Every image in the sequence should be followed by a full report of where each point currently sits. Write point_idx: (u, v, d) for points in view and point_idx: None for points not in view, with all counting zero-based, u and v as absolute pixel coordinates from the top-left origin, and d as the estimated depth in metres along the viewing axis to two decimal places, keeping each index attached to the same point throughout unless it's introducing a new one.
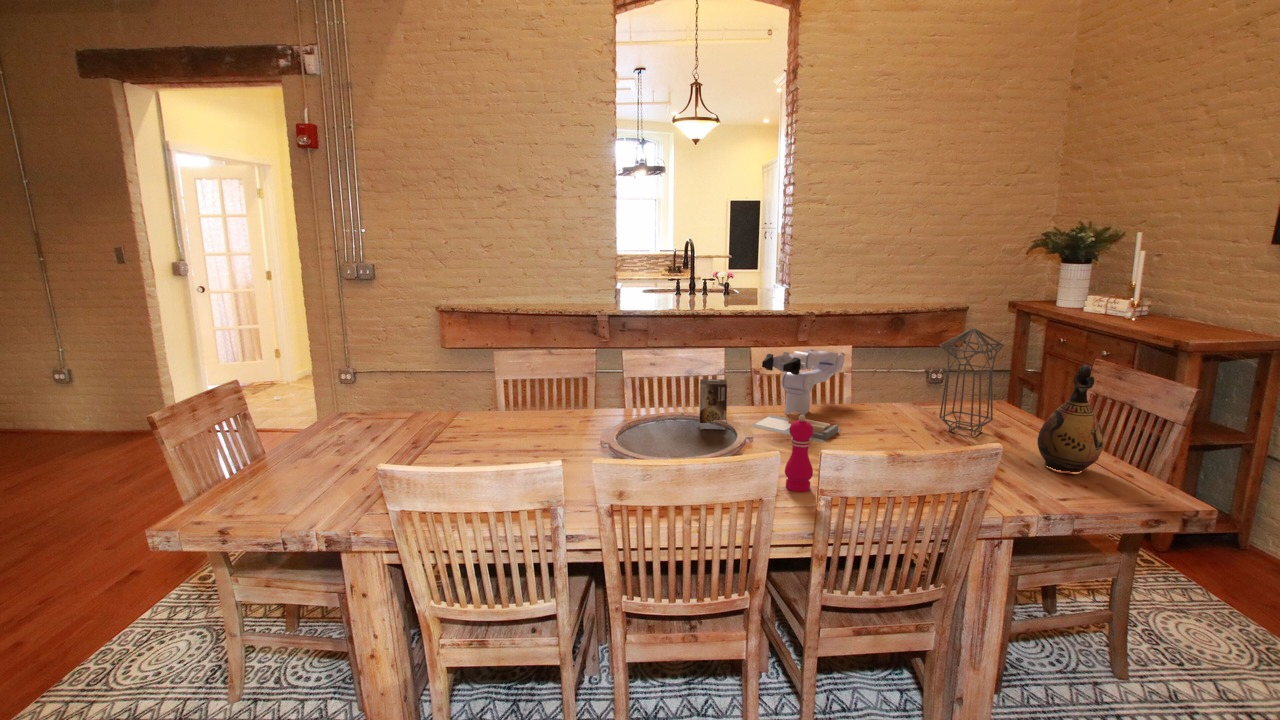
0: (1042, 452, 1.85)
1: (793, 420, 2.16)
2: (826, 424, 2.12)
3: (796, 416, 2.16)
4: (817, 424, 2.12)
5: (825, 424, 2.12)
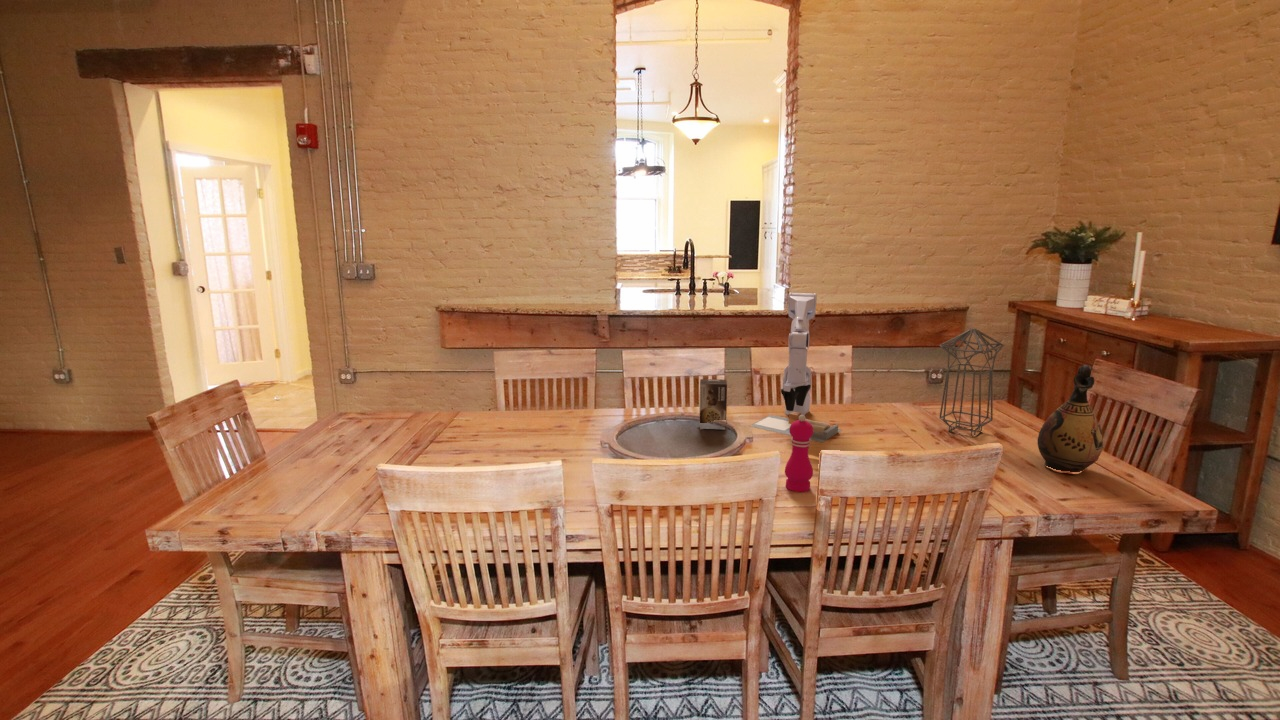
0: (1042, 452, 1.85)
1: (793, 420, 2.16)
2: (826, 424, 2.12)
3: (796, 416, 2.16)
4: (817, 424, 2.12)
5: (825, 424, 2.12)
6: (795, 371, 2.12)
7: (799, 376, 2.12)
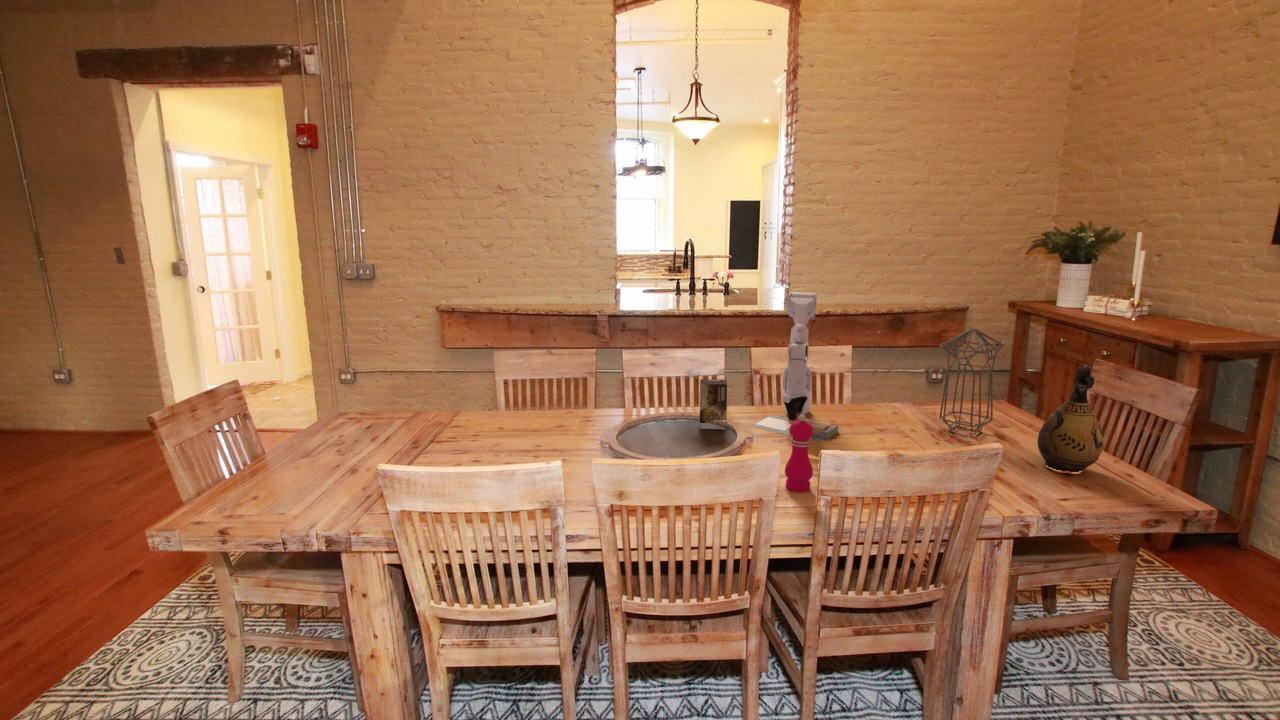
0: (1042, 452, 1.85)
1: None
2: (826, 424, 2.12)
3: (796, 416, 2.16)
4: (817, 424, 2.12)
5: (825, 424, 2.12)
6: (794, 382, 2.12)
7: (799, 387, 2.13)
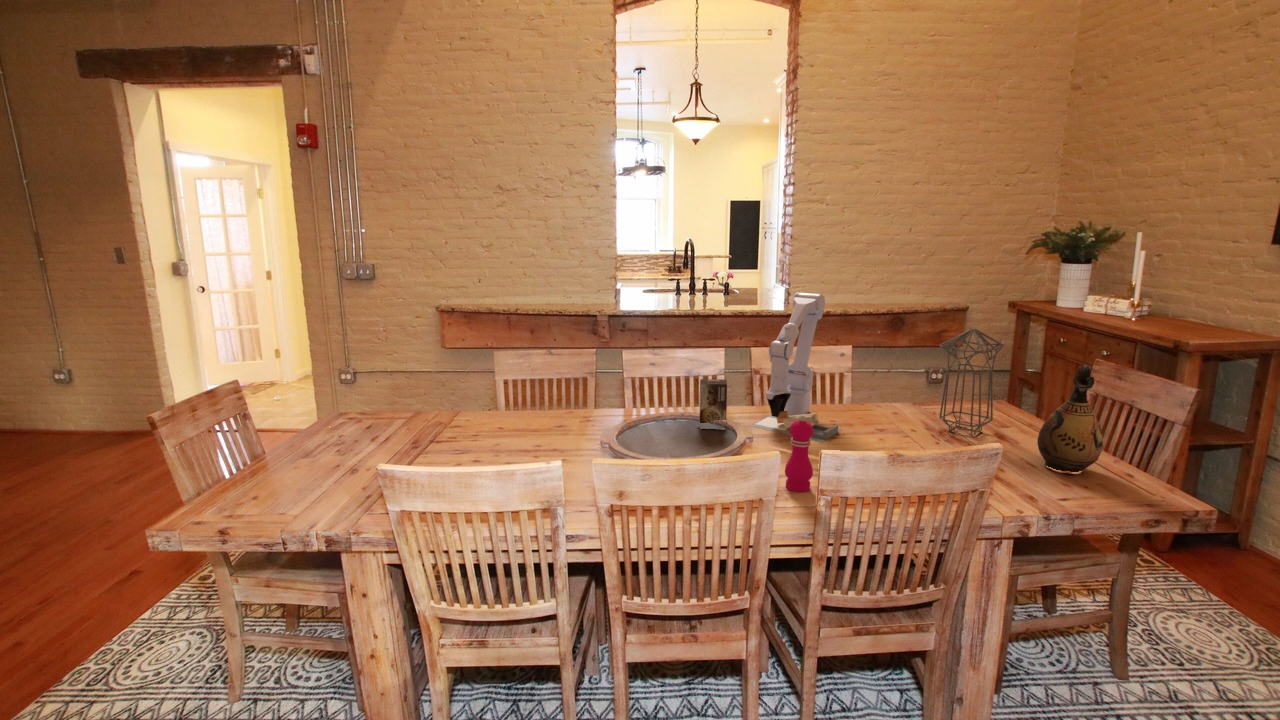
0: (1042, 452, 1.85)
1: (781, 419, 2.19)
2: (813, 414, 2.15)
3: (783, 414, 2.19)
4: None
5: (812, 414, 2.15)
6: (777, 379, 2.16)
7: (781, 384, 2.16)
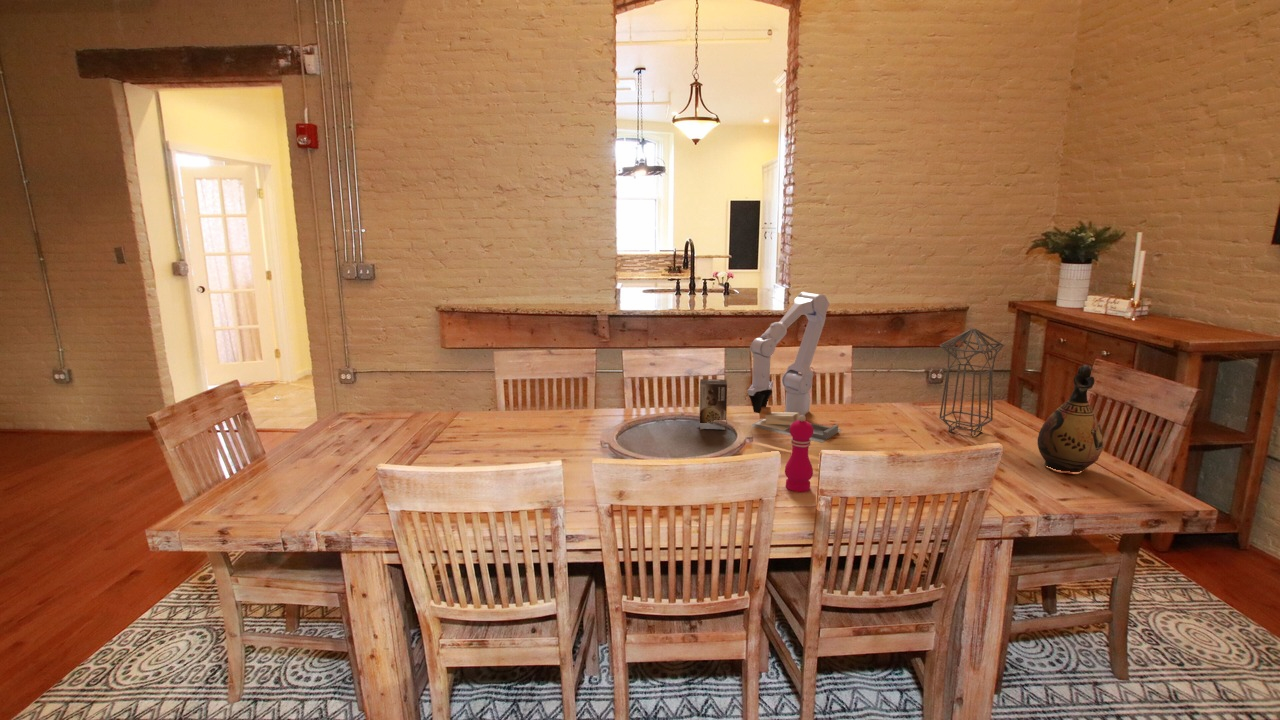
0: (1042, 452, 1.85)
1: (763, 414, 2.23)
2: (795, 413, 2.19)
3: (765, 410, 2.22)
4: (786, 414, 2.19)
5: (794, 413, 2.19)
6: (759, 376, 2.20)
7: (763, 381, 2.20)
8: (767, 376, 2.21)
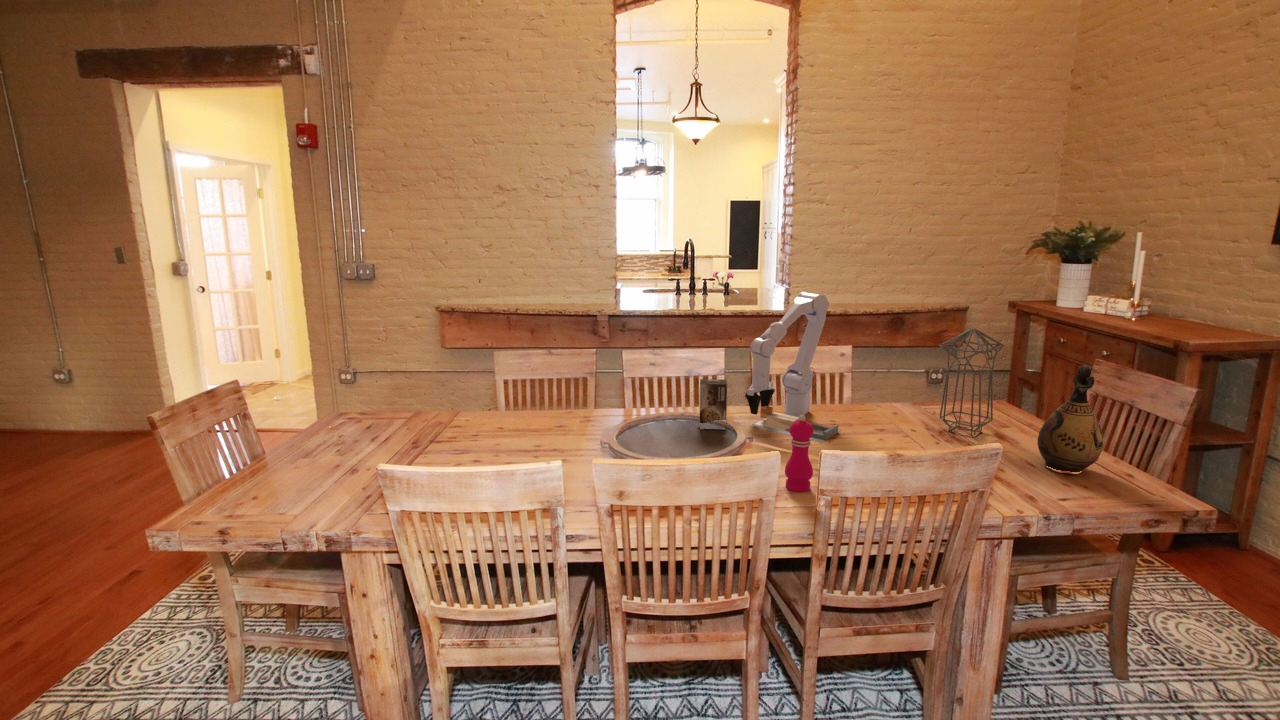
0: (1042, 452, 1.85)
1: (765, 414, 2.23)
2: (796, 418, 2.19)
3: (767, 410, 2.22)
4: (787, 418, 2.19)
5: (795, 418, 2.19)
6: (759, 376, 2.20)
7: (763, 381, 2.20)
8: (767, 376, 2.21)
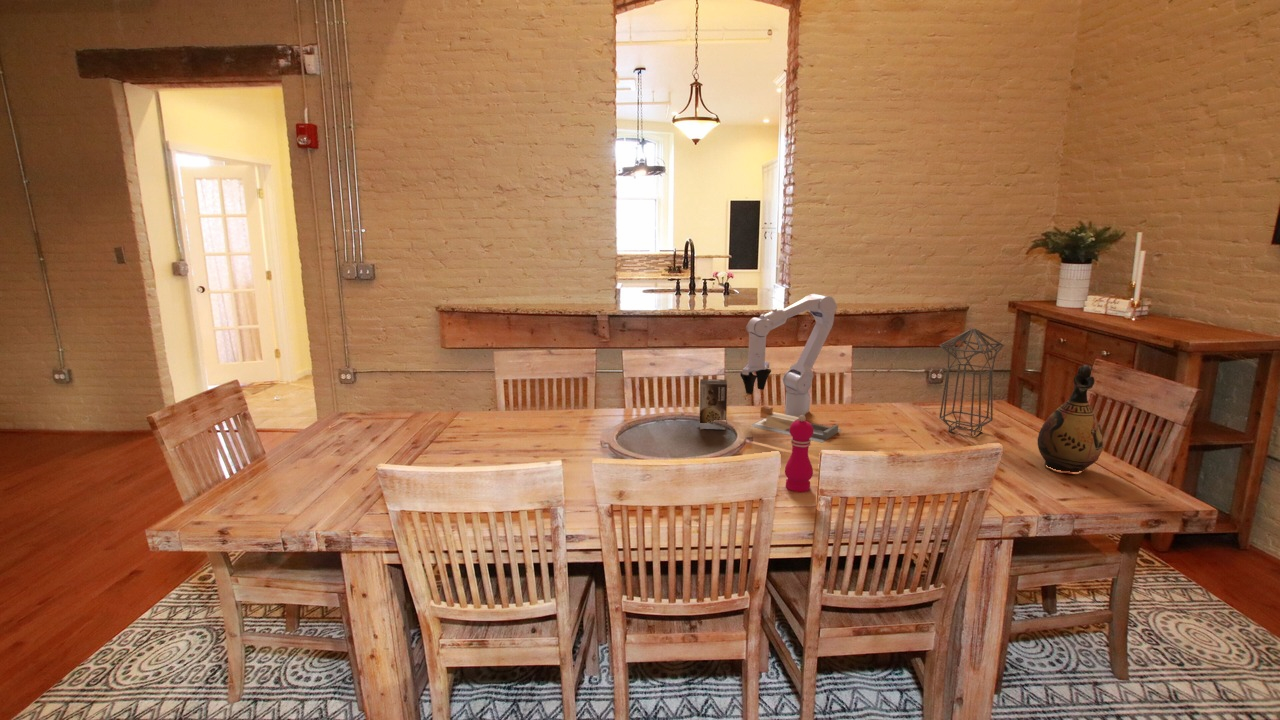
0: (1042, 452, 1.85)
1: (765, 414, 2.23)
2: (796, 418, 2.19)
3: (767, 410, 2.22)
4: (787, 418, 2.19)
5: (795, 418, 2.19)
6: (754, 356, 2.21)
7: (758, 360, 2.21)
8: (762, 356, 2.21)
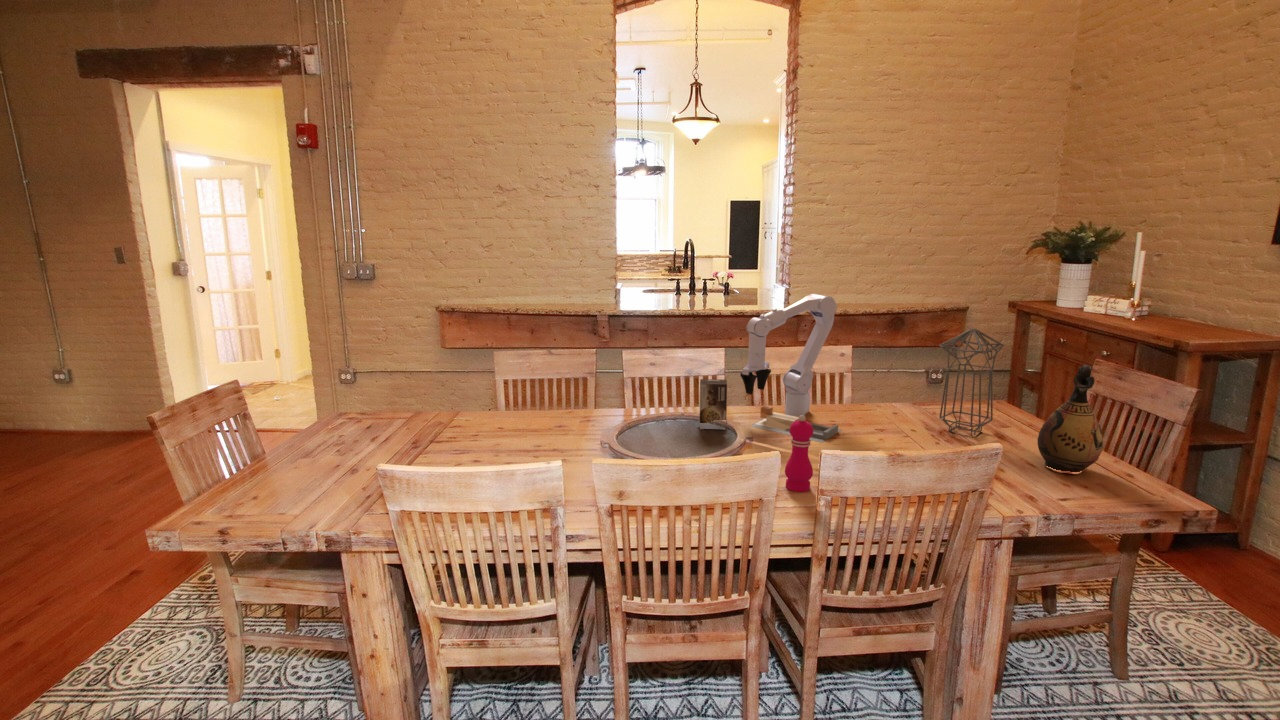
0: (1042, 452, 1.85)
1: (765, 414, 2.23)
2: (796, 418, 2.19)
3: (767, 410, 2.22)
4: (787, 418, 2.19)
5: (795, 418, 2.19)
6: (754, 356, 2.21)
7: (758, 360, 2.21)
8: (762, 356, 2.21)
